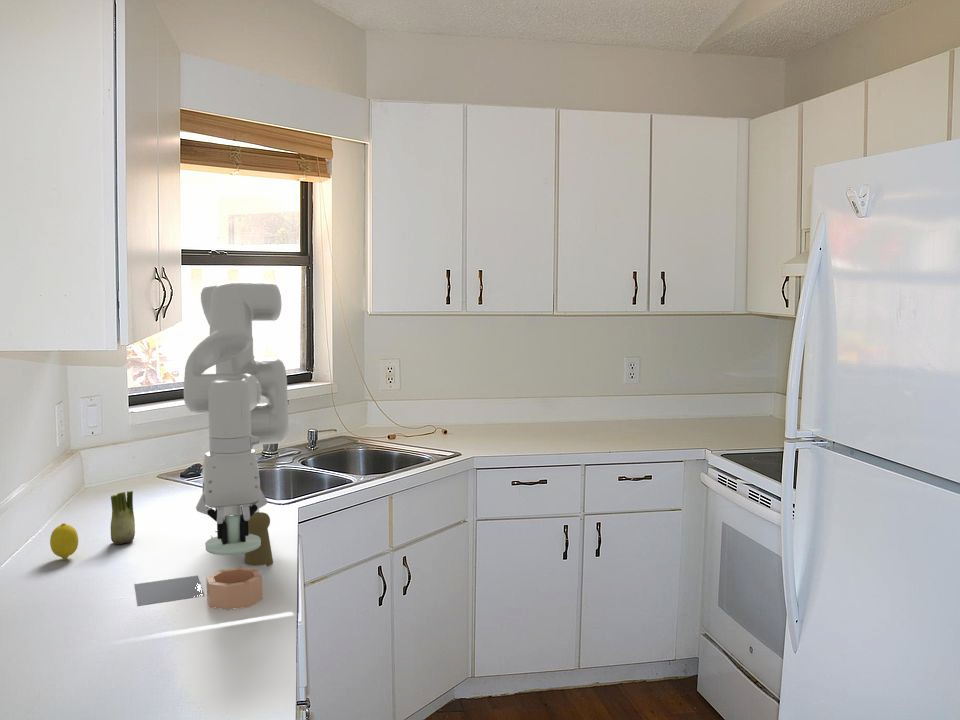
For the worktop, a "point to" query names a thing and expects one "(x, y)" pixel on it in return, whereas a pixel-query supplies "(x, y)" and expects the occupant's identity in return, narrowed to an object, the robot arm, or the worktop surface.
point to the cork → (260, 528)
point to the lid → (233, 539)
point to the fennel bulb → (122, 518)
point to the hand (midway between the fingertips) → (233, 540)
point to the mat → (167, 590)
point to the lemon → (64, 541)
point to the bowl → (234, 588)
